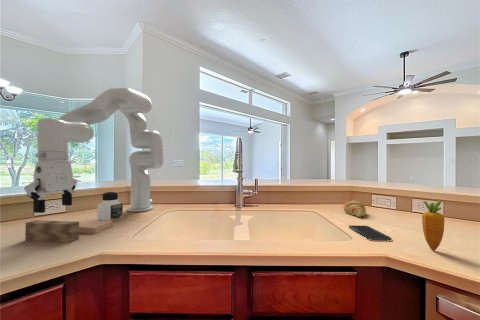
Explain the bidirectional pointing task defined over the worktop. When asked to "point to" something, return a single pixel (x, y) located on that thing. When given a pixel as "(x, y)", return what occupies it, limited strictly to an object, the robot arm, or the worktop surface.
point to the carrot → (433, 225)
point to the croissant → (355, 208)
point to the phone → (369, 233)
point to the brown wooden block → (52, 231)
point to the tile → (95, 226)
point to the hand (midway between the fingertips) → (54, 208)
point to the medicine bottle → (110, 207)
